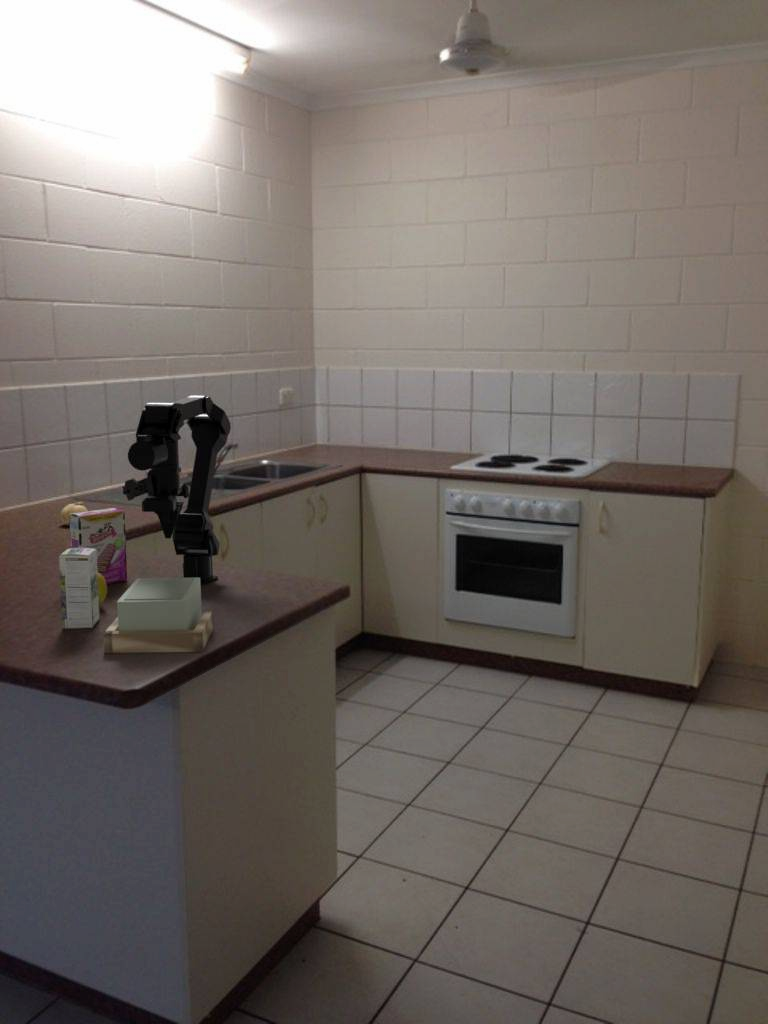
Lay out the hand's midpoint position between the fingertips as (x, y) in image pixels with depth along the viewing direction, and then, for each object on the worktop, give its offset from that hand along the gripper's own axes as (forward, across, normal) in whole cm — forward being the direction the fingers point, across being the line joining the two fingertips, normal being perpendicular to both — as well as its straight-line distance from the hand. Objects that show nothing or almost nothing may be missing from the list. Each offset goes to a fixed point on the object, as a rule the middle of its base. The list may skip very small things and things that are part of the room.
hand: (168, 538), depth 192 cm
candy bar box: (+13, -13, -18) cm, 26 cm away
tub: (+13, +25, +3) cm, 28 cm away
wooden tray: (+13, +28, +3) cm, 31 cm away
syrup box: (+13, +18, -14) cm, 26 cm away
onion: (+13, -79, -43) cm, 91 cm away
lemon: (+13, +7, -14) cm, 21 cm away
